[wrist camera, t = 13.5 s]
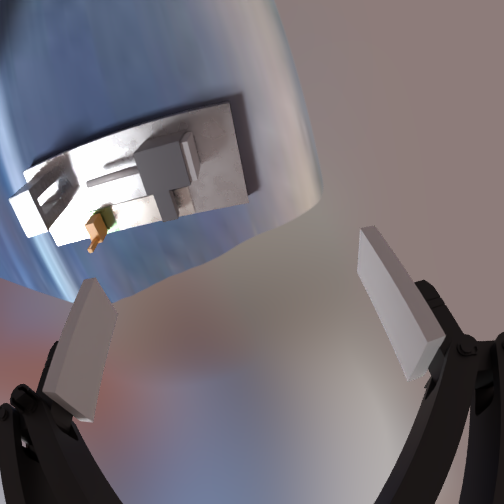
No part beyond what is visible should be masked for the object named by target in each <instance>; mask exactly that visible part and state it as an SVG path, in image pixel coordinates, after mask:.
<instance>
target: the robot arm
mask: <svg viewBox="0 0 504 504" xmlns="http://www.w3.org/2000/svg"><path fill="white" fill-rule="evenodd" d="M357 273H358V275H359V277H360V279H361V281H362V283H363V285H364V287H365V289H366V291H367V293H368V295H369V297H370V299H371V301H372V303H373V305H374V307H375V309H376V312H377V313H378V316H379V318H380V320H381V322H382V324H383V327H384V329H385V331H386V333H387V335H388V337H389V339H390V342H391V344H392V346H393V349H394V351H395V353H396V355H397V358H398V360H399V362H400V365H401V367H402V370H403V372H404V374H405V377H406V379H407V382H409V381H411V380H414V379H417V378H419V377H422V376H424V375H425V373H426V371H427V370H428V369H429V372H430V374H431V377H430V379H429V380H428V382H427V383H426V385H425V387H424V388H427V389H426V392H425V394H424V398H423V400H422V403H421V406H420V409H419V411H418V414H417V416H416V419H415V421H414V424H413V426H412V429H411V431H410V434H409V436H408V438H407V441H406V443H405V445H404V447H403V450H402V452H401V454H400V456H399V458H398V460H397V462H396V464H395V466H394V468H393V470H392V472H391V474H390V476H389V478H388V480H387V482H386V483H385V485H384V487H383V489H382V491H381V492H380V494H379V496H378V498H377V499H376V501H375V503H374V504H435V501H436V500H437V497H438V495H439V493H440V491H441V489H442V486H443V484H444V482H445V479H446V477H447V474H448V472H449V470H450V467H451V464H452V462H453V459H454V456H455V454H456V451H457V448H458V445H459V442H460V439H461V436H462V433H463V429H464V426H465V422H466V419H467V415H468V411H469V408H470V426H469V439H468V449H467V458H466V466H465V472H464V479H463V485H462V490H461V495H460V500H459V504H504V332H502V333H501V334H499V335H498V337H497V338H496V340H495V341H476V340H475V338H473V337H472V336H470V335H466V334H464V333H463V332H462V331H461V329H460V327H459V326H458V324H457V322H456V321H455V319H454V318H453V316H452V314H451V313H450V311H449V309H448V308H447V306H446V305H445V303H444V301H443V300H442V298H440V295H439V294H438V292H437V291H436V289H435V288H434V287H433V286H432V285H431V284H429V283H428V282H427V281H425V280H422V281H418V282H413V280H412V279H411V277H410V276H409V274H408V272H407V271H406V269H405V268H404V267H403V265H402V264H401V262H400V261H399V259H398V258H397V256H396V255H395V253H394V252H393V250H392V249H391V248H390V246H389V245H388V243H387V242H386V240H385V239H384V238H383V236H382V235H381V234H380V232H379V231H378V230H377V228H376V227H375V226H369V227H364V228H360V240H359V255H358V268H357ZM117 316H118V313H117V311H116V310H115V308H114V307H113V305H112V303H111V302H110V300H109V299H108V297H107V296H106V294H105V292H104V291H103V289H102V287H101V286H100V284H99V283H98V281H97V279H96V278H90V279H85V280H84V281H83V283H82V285H81V288H80V290H79V292H78V294H77V297H76V299H75V301H74V304H73V306H72V308H71V311H70V313H69V316H68V318H67V321H66V323H65V326H64V328H63V331H62V334H61V336H60V339H59V341H56V342H55V343H54V345H53V346H52V348H51V349H50V352H49V355H48V358H47V361H46V363H45V368H44V369H43V372H42V376H41V378H40V382H39V385H38V388H37V391H36V393H35V392H34V391H33V390H32V389H30V388H29V387H28V386H27V385H25V384H20V385H18V386H17V387H16V388H15V389H14V390H13V392H12V394H11V398H10V404H11V405H12V406H14V407H15V408H14V407H12V406H11V405H10V404H8V403H4V404H2V405H1V406H0V471H1V478H2V485H3V490H4V495H5V500H6V504H123V503H122V502H121V501H120V499H119V498H118V496H117V495H116V493H115V492H114V490H113V489H112V487H111V486H110V484H109V483H108V481H107V480H106V478H105V476H104V475H103V473H102V472H101V470H100V468H99V467H98V465H97V463H96V462H95V460H94V458H93V456H92V455H91V453H90V451H89V449H88V447H87V446H86V444H85V442H84V440H83V438H82V436H81V434H80V432H79V430H78V428H77V426H76V424H75V423H74V422H73V421H72V417H73V416H74V417H76V418H77V419H79V420H80V421H86V422H93V421H94V415H95V410H96V404H97V399H98V394H99V389H100V385H101V380H102V375H103V371H104V367H105V362H106V358H107V354H108V350H109V346H110V342H111V338H112V335H113V330H114V327H115V323H116V320H117ZM21 440H22V441H24V442H25V443H26V447H23V446H22V441H21Z"/></svg>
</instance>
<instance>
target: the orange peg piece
mask: <svg viewBox="0 0 504 504" xmlns="http://www.w3.org/2000/svg"><path fill="white" fill-rule="evenodd" d="M84 226H85V228H86V230H87V232H88V235H89V237H90V239H91V241H92V242H91V244H90V246H89V248H88V249H87V250H88V251H89V253H92V252H94V250H95V248H96V246H97V244H98V243H100V242H103V240H104V238H105V236H106V234H107V232H108V230H107V228H106V226H105V224H104V221H103V219H102V217H101V215H100V213H98V214H95V215H91V216H90V218H89V219H88V221H87V222H86V224H85V225H84Z"/></svg>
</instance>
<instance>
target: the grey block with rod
mask: <svg viewBox="0 0 504 504" xmlns="http://www.w3.org/2000/svg"><path fill="white" fill-rule="evenodd" d="M133 156H134V159H135V162H136V165H135V166H131V167H128V168H125V169H121V170H118V171H115V172H112V173H109V174H105V175H102V176H99V177H96V178H93V179H90V180H87V181H86V183H85V184H86V187H87V188H88V189H89V188H92V187H95V186H98V185H101V184H104V183H108V182H111V181H114V180H117V179H121V178H124V177H127V176H131V175H134V174H138V173H139V174H140V177H141V180H142V183H143V186H144V189H145V191H146V194H147V196H148V195H152V194H153V196H154V199H155V201H156V204H157V207H158V210H159V213H160V215H161V218H162V221H163V222H166V221H170V220H175V219H178V217H179V213H180V212H179V209H178V206H177V203H176V200H175V197H174V194H173V191H172V190H173V189H177V188H181V187H186V186H190V185H191V182H192V181H196V180H198V176H199V171H200V167H201V165H200V161H199V157H198V153H197V149H196V145H195V141H194V137H193V133H192V131H191V132H187V133H186V132H185V130H183V131H179V132H175V133H171V134H167V135H164V136H160V137H156V138H153V139H149V140H146V141H144V142H143V143H142V144H141V145H140V146H139V148H138V149H137V150H136V151H135V152H134V153H133Z"/></svg>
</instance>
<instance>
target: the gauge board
mask: <svg viewBox="0 0 504 504" xmlns="http://www.w3.org/2000/svg"><path fill="white" fill-rule="evenodd" d="M183 130H185V132H186V133H187V132H191V131H192V133H193V137H194V141H195V145H196V149H197V153H198V157H199V161H200V165H201V167H200V171H199V176H198V180H196V181H192V182H191V185H190V186H186V187H181V188H177V189H173V190H172V191H173V194H174V197H175V200H176V203H177V206H178V209H179V212H180V213H179V217H180V216H185V215H189V214H194V213H199V212H204V211H209V210H214V209H219V208H224V207H229V206H234V205H240V204H245V203H249V200H248V194H247V189H246V184H245V179H244V174H243V168H242V163H241V158H240V153H239V148H238V143H237V138H236V133H235V128H234V123H233V118H232V113H231V108H230V103H229V101H226V102H221V103H216V104H211V105H207V106H202V107H198V108H193V109H189V110H185V111H181V112H177V113H174V114H170V115H166V116H163V117H159V118H156V119H152V120H149V121H145V122H142V123H139V124H136V125H133V126H130V127H127V128H124V129H121V130H118V131H115V132H112V133H109V134H106V135H104V136H101V137H98V138H95V139H93V140H90V141H88V142H85V143H83V144H80V145H78V146H75V147H73V148H70V149H68V150H66V151H63V152H61V153H59V154H56V155H54V156H52V157H50V158H48V159H45V160H43V161H41V162H39V163H37V164H35V165H33V166H31V167H29V168H28V169H27V170H25V171H24V172H23V174H24V176H25V178H26V181H27V183H26V184H25V185H24V186H23V187H22V188H21V189H19V190H18V191H17V192H16V193H15V194H14V195H13V196H12V197H11V198H10V199H9V201H10V203H11V205H12V207H13V209H14V211H15V213H16V215H17V217H18V219H19V221H20V223H21V225H22V227H23V229H24V231H25V233H26V235H27V236H28V238H29V237H32V236H35V235H38V234H41V233H44V232H47V231H48V230H50V232H51V234H52V236H53V237H54V239H55V241H56V243H57V245H58V246H60V245H63V244H67V243H71V242H75V241H79V240H82V239H86V238H90V237H89V235H88V232H87V230H86V228H85V226H84V225H85V224H86V222H87V221H88V219H89V218H90V216H91V215H95V214H98V213H100V215H101V217H102V219H103V221H104V224H105V226H106V228H107V230H108V232H107V233H111V232H115V231H119V230H122V229H127V228H131V227H135V226H139V225H144V224H148V223H153V222H157V221H162V218H161V215H160V213H159V210H158V207H157V204H156V201H155V199H154V196H153V194H152V195H148V196H147V194H146V191H145V189H144V186H143V183H142V180H141V177H140V174H139V173H138V174H134V175H131V176H127V177H124V178H121V179H117V180H114V181H111V182H108V183H104V184H101V185H98V186H95V187H92V188H89V189H88V188H87V187H86V184H85V183H86V181H87V180H90V179H93V178H96V177H99V176H102V175H105V174H109V173H112V172H115V171H118V170H121V169H125V168H128V167H131V166H135V165H136V162H135V159H134V156H133V153H134V152H135V151H136V150H137V149H138V148H139V146H140V145H141V144H142V143H143V142H144V141H146V140H149V139H153V138H156V137H160V136H164V135H167V134H171V133H175V132H179V131H183Z"/></svg>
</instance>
